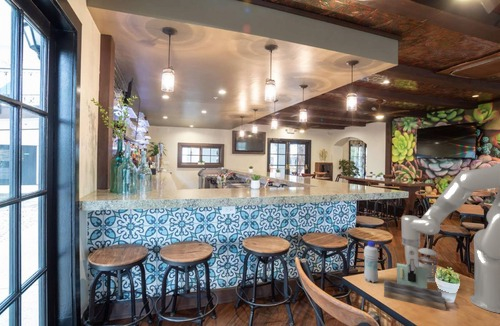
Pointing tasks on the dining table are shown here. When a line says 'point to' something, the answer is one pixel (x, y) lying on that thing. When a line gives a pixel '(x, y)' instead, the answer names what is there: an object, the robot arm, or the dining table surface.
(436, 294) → the bottom track
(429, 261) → the french press
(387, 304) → the dining table surface
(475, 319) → the dining table surface
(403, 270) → the door panel
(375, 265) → the bottle
